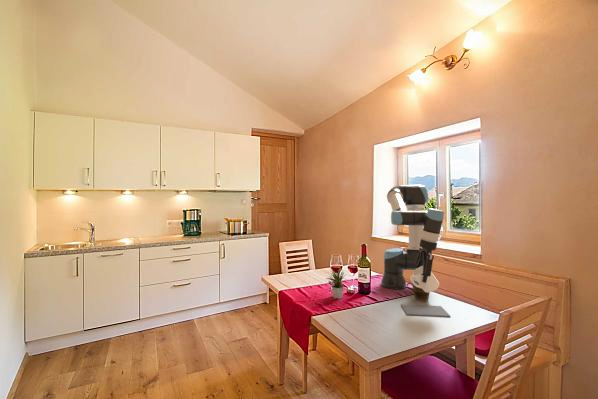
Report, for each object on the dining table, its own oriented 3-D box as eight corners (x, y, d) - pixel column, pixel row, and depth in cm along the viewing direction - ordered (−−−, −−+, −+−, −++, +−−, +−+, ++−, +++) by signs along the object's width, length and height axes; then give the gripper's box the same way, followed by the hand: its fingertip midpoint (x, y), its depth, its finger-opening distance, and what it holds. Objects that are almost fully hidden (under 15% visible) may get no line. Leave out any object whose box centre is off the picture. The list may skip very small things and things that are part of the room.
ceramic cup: (426, 296, 161) (426, 279, 161) (434, 303, 151) (434, 284, 151) (403, 296, 162) (403, 278, 162) (410, 303, 152) (410, 284, 152)
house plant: (327, 291, 171) (327, 264, 171) (350, 293, 167) (350, 265, 167) (322, 299, 157) (322, 270, 157) (347, 301, 154) (347, 272, 153)
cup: (437, 290, 133) (425, 272, 133) (415, 296, 141) (404, 278, 141) (441, 280, 139) (429, 263, 139) (420, 286, 147) (408, 270, 148)
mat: (440, 307, 146) (440, 305, 146) (450, 317, 134) (450, 315, 134) (400, 305, 149) (400, 304, 148) (406, 315, 137) (406, 313, 137)
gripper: (445, 247, 127) (434, 295, 129) (429, 237, 148) (419, 278, 150) (428, 244, 127) (417, 291, 130) (414, 234, 148) (405, 275, 151)
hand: (418, 284), depth 140 cm, fingers closed on cup, 8 cm apart
